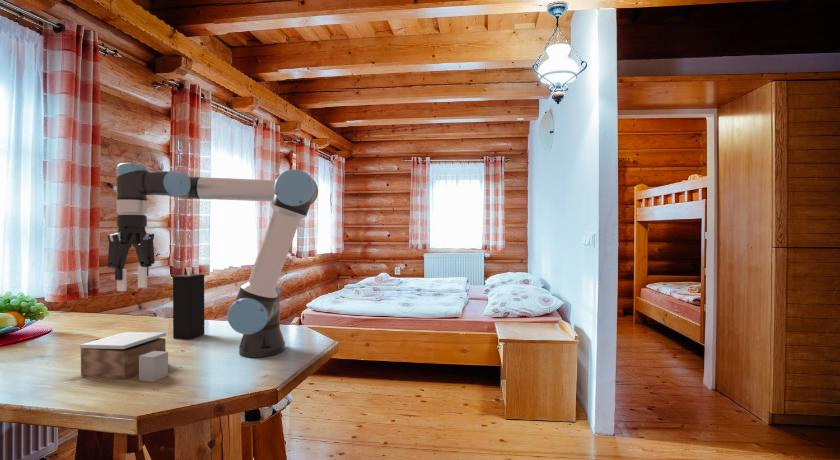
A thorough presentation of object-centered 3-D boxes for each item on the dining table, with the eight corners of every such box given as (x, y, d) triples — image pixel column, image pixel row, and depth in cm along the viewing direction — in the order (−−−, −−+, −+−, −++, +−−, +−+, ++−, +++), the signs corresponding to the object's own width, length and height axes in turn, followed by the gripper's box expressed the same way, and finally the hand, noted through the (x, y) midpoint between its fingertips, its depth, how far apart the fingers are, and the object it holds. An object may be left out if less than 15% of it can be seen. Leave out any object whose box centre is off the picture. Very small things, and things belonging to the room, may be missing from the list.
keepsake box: (165, 363, 128) (165, 338, 128) (124, 379, 114) (124, 351, 114) (125, 359, 131) (125, 335, 131) (80, 374, 118) (80, 348, 118)
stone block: (168, 375, 118) (168, 351, 118) (153, 381, 113) (153, 357, 113) (154, 374, 119) (154, 350, 119) (139, 380, 114) (138, 356, 114)
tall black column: (189, 339, 154) (189, 268, 154) (172, 338, 156) (172, 267, 156) (204, 334, 162) (204, 266, 162) (188, 333, 164) (187, 265, 163)
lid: (165, 335, 128) (165, 332, 128) (123, 349, 114) (123, 345, 114) (125, 335, 132) (125, 332, 132) (80, 348, 117) (79, 344, 117)
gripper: (149, 215, 132) (149, 284, 132) (90, 213, 113) (90, 293, 113) (168, 215, 130) (168, 285, 131) (111, 213, 112) (111, 294, 112)
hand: (132, 289), depth 122 cm, fingers open, 6 cm apart
